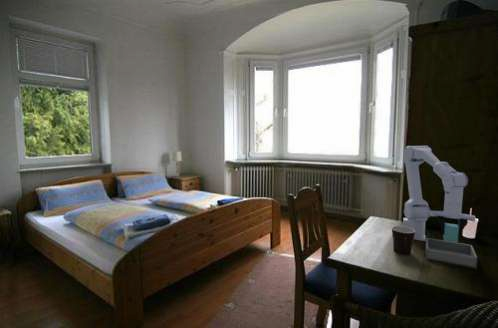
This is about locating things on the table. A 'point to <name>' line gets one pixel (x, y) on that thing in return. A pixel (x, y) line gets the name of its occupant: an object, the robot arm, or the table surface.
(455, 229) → the teal block
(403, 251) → the coffee mug
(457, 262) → the gray tray
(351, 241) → the table surface
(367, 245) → the table surface
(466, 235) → the beverage cup
